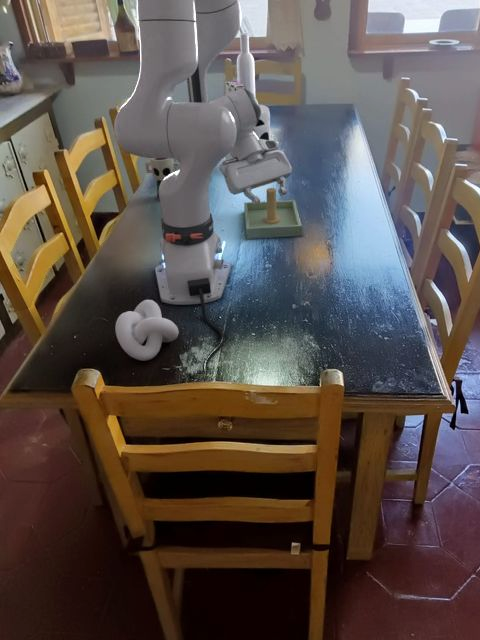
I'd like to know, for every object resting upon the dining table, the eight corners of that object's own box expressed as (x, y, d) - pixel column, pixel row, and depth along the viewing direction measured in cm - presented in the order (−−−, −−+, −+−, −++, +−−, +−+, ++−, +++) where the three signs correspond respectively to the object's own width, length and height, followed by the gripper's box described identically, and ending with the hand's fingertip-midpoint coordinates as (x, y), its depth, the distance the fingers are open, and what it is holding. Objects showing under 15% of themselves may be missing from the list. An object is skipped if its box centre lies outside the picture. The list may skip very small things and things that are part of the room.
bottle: (249, 105, 247) (246, 31, 228) (259, 108, 242) (257, 33, 223) (235, 108, 243) (231, 33, 224) (245, 111, 238) (242, 36, 219)
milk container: (265, 152, 196) (264, 100, 184) (278, 168, 183) (278, 113, 171) (220, 157, 192) (216, 105, 181) (230, 174, 179) (226, 119, 168)
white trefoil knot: (185, 330, 111) (180, 294, 106) (175, 367, 102) (168, 330, 97) (133, 329, 112) (125, 294, 107) (118, 366, 103) (108, 329, 97)
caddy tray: (301, 235, 143) (302, 201, 137) (246, 238, 143) (244, 204, 136) (294, 209, 156) (295, 176, 150) (244, 212, 156) (242, 179, 150)
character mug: (148, 202, 163) (140, 160, 155) (153, 193, 169) (146, 152, 161) (182, 202, 163) (177, 160, 155) (186, 192, 168) (181, 152, 160)
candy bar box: (248, 128, 219) (246, 85, 209) (237, 130, 217) (234, 87, 207) (237, 121, 227) (235, 79, 217) (227, 123, 225) (224, 81, 215)
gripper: (221, 156, 137) (244, 203, 137) (281, 139, 147) (303, 184, 147) (213, 169, 143) (236, 214, 143) (272, 152, 152) (293, 194, 152)
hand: (270, 198), depth 145 cm, fingers open, 8 cm apart
